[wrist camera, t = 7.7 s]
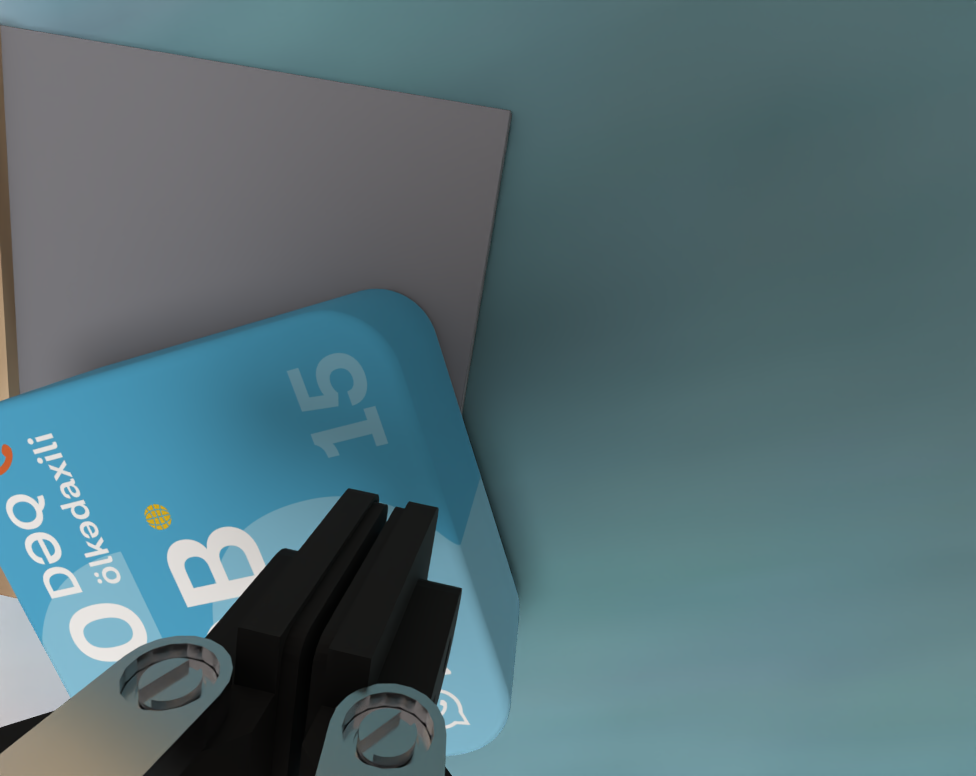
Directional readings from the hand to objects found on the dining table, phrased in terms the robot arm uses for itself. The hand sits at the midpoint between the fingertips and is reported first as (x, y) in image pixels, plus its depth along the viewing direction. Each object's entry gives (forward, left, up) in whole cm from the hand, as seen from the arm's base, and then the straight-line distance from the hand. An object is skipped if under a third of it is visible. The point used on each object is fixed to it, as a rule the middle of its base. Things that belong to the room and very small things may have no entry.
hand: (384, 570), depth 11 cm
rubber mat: (+7, 0, -8) cm, 11 cm away
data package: (-1, +1, -5) cm, 5 cm away
